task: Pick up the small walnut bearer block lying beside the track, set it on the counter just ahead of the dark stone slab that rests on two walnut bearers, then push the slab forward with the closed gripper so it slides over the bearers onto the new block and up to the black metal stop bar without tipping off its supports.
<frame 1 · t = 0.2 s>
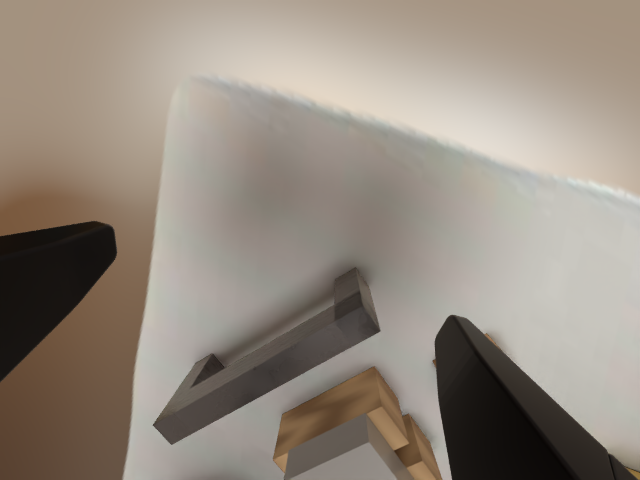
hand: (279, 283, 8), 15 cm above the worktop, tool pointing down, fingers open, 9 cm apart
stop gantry: (277, 327, 26), on the worktop
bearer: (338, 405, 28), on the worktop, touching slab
slab: (360, 476, 24), point 4 cm above the worktop, touching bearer, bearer
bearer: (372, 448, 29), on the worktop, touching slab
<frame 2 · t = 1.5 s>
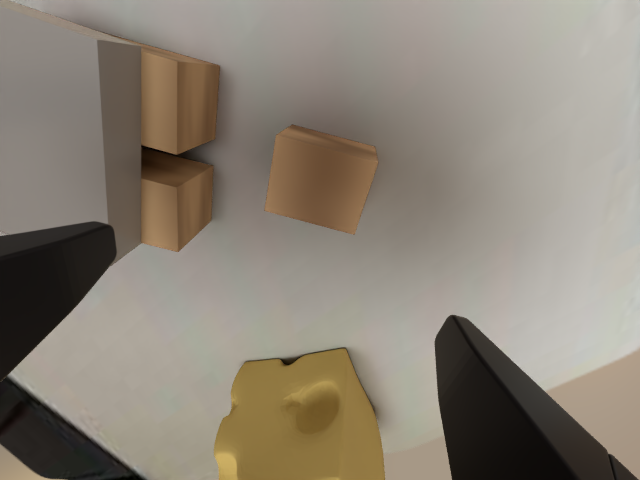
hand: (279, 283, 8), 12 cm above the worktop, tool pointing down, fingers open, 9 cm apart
cheese: (314, 387, 29), on the worktop
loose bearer: (325, 168, 18), on the worktop
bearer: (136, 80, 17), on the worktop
slab: (71, 137, 15), point 4 cm above the worktop
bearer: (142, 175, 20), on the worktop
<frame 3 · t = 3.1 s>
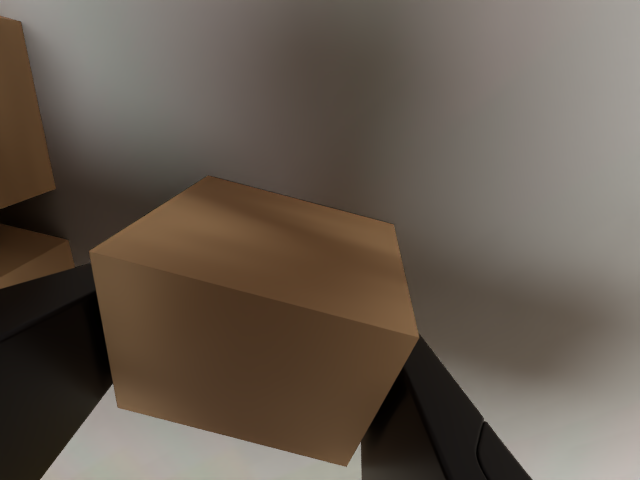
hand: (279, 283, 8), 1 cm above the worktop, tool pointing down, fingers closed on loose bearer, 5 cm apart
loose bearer: (287, 262, 9), on the worktop, touching gripper
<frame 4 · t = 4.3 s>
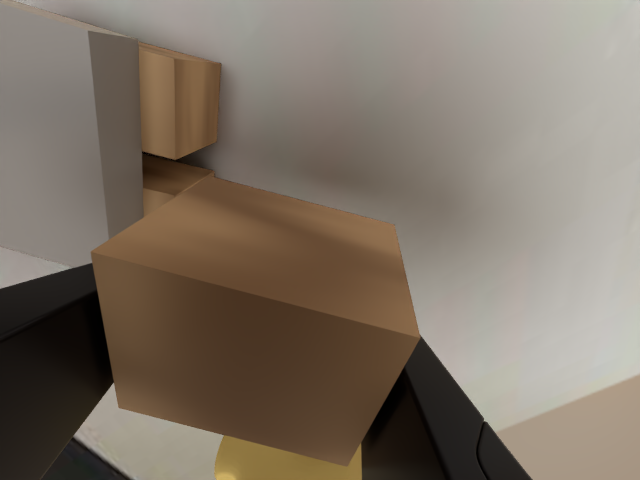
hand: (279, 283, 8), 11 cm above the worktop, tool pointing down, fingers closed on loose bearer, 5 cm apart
cheese: (318, 399, 28), on the worktop
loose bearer: (288, 262, 9), point 10 cm above the worktop, touching gripper
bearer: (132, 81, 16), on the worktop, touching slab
slab: (68, 142, 14), point 4 cm above the worktop, touching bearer, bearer
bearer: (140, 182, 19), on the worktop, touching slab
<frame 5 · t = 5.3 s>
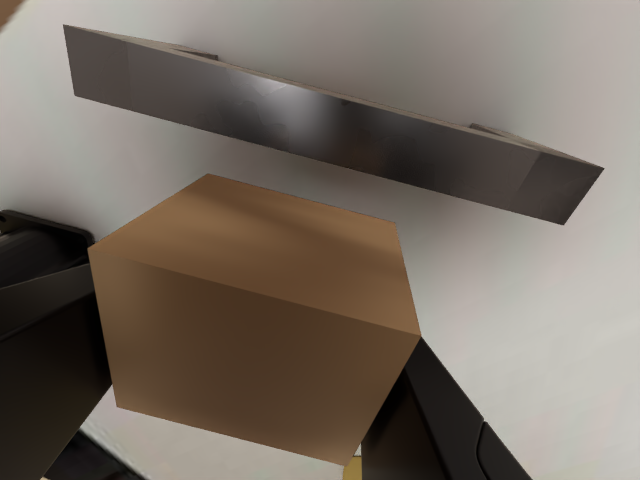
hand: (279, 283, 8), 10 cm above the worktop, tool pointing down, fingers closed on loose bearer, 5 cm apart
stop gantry: (339, 110, 15), on the worktop
cheese: (406, 476, 32), on the worktop
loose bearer: (288, 260, 9), point 9 cm above the worktop, touching gripper
when the fingers open (3 cm above the worktop, at t = 6.9 s): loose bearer drops 2 cm, on the worktop.
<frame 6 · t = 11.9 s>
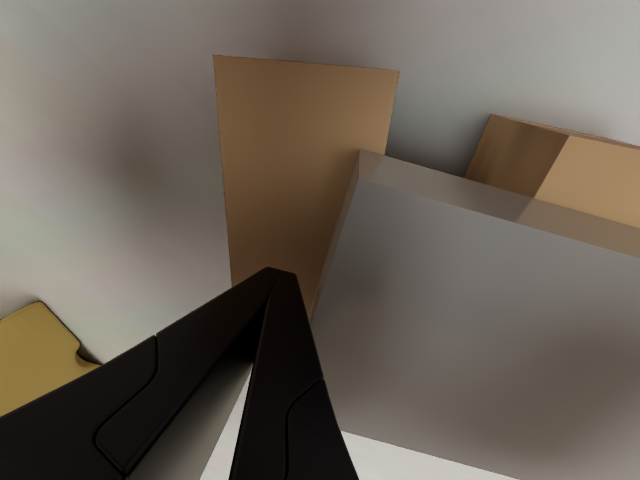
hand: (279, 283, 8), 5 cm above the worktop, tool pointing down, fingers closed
cheese: (56, 368, 21), on the worktop
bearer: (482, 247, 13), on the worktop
slab: (486, 313, 9), point 4 cm above the worktop, touching gripper
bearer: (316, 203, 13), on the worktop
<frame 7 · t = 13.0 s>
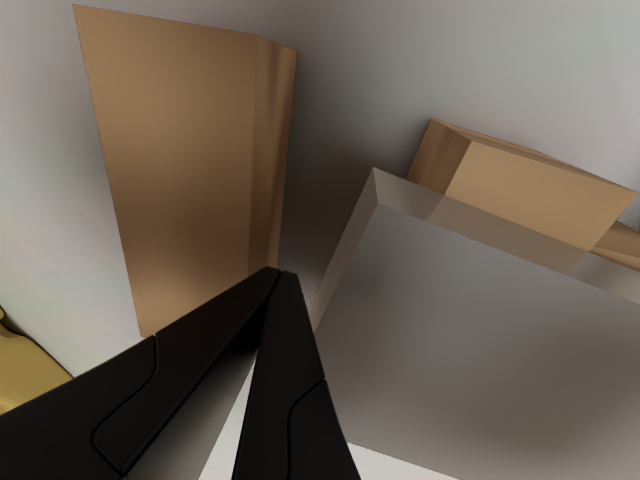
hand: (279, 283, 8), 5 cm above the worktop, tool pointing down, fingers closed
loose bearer: (528, 259, 13), on the worktop
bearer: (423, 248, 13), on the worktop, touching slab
slab: (475, 331, 9), point 4 cm above the worktop, touching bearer
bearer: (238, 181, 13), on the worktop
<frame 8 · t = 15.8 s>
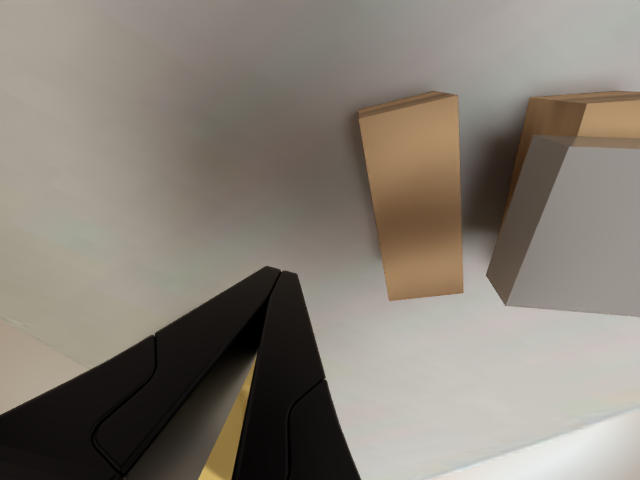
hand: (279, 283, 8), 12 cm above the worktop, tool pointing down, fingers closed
cheese: (225, 362, 29), on the worktop
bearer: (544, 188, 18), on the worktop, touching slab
slab: (623, 219, 13), point 4 cm above the worktop, touching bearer
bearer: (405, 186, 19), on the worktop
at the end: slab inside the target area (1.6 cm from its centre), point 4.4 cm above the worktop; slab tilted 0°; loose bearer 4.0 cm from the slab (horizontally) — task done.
